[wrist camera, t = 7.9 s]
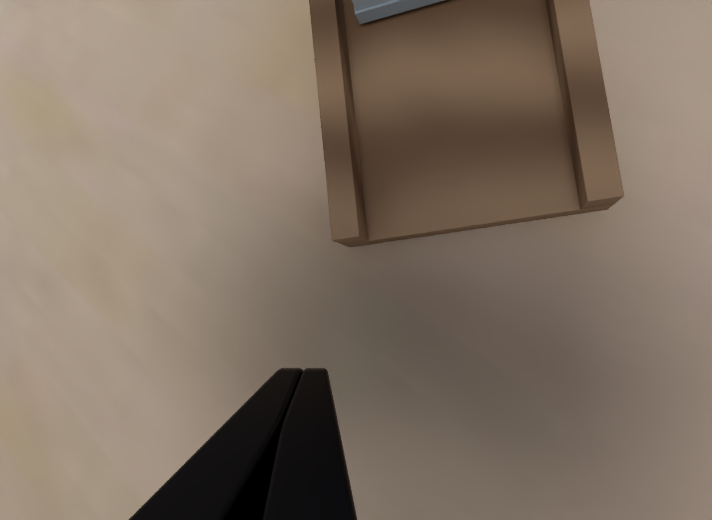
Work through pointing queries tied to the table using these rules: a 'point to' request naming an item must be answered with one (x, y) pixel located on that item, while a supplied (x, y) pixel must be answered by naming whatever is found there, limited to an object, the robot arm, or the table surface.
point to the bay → (461, 117)
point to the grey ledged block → (385, 8)
